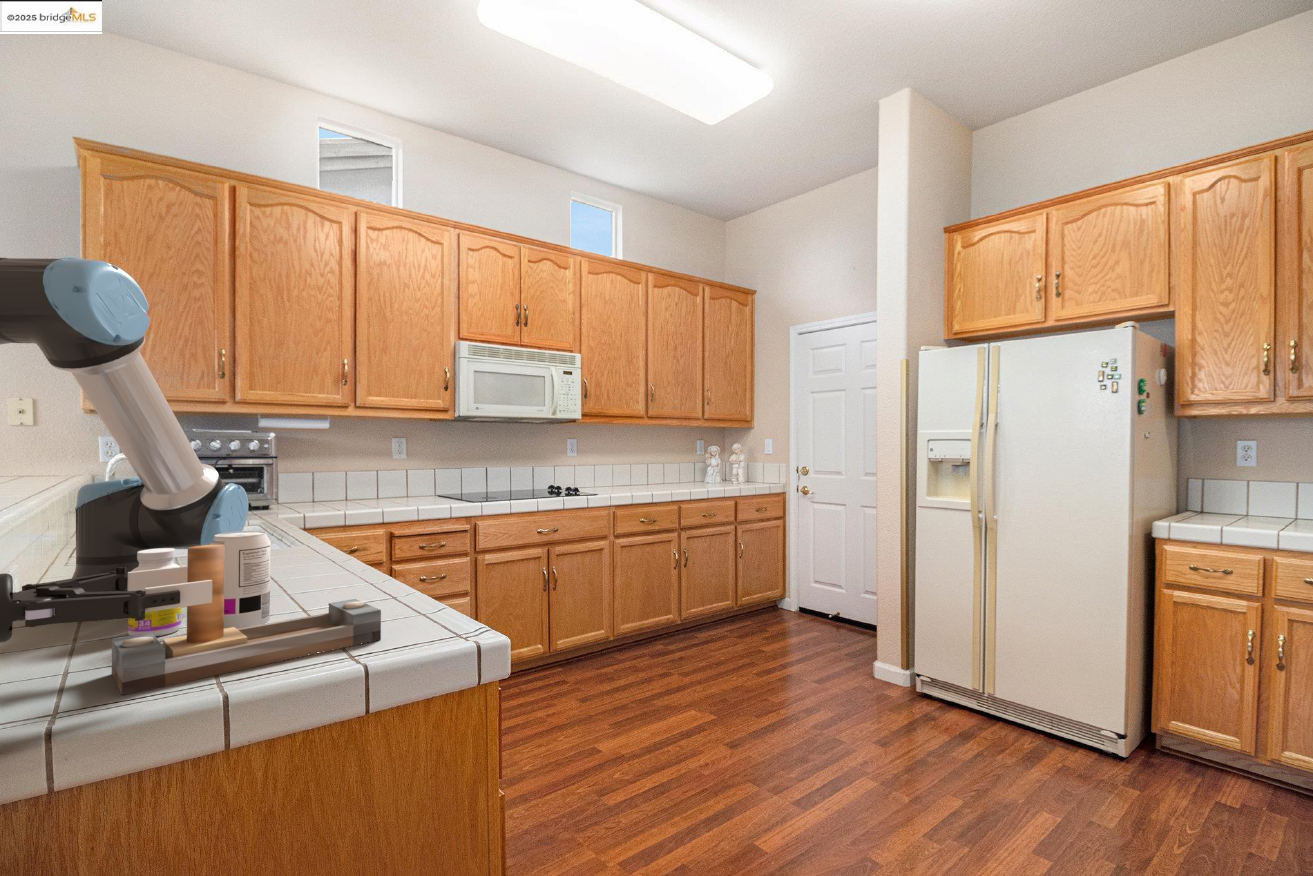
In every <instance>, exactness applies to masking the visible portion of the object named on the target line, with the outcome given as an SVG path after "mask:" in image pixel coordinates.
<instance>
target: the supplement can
mask: <svg viewBox="0 0 1313 876" xmlns="http://www.w3.org/2000/svg"><path fill="white" fill-rule="evenodd" d="M210 545H224V546H225V550H224V629H225V628H230V627H235V628H236V629H238V628H244V627H250V626H256V625H262V624H265V623H266V624H267V623H269V622H270V620H271V619H270V618H271V616H270V615H271V612H270V611H271V540H270V538H269V537H268V535H267V531H263V530H261V531H260V530H246V531H244V530H243V531H242V532H229V533H222V534H217V535H215V536H214V539H213V541H212V543H211V544H210Z"/></svg>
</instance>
